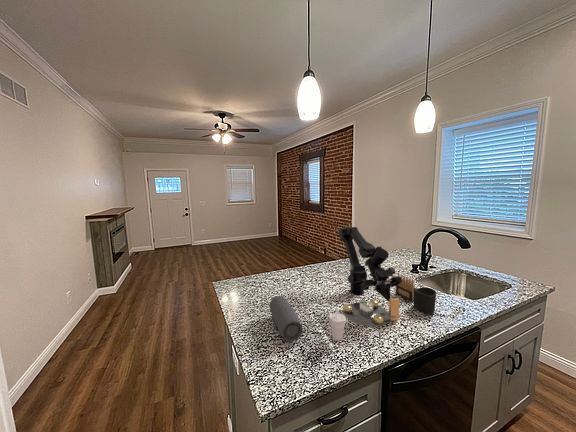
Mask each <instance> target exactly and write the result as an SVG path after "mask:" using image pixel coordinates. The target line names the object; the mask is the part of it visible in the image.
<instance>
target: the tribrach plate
mask: <svg viewBox="0 0 576 432" xmlns="http://www.w3.org/2000/svg"><path fill="white" fill-rule="evenodd" d="M342 314H343V315H344V316H345V317H346V319H348V320H349V321H351V322H353V323H355V324H357V325H360V326H365V327H381V326H382V327H383V326H385V325H386V324H389V323H390V321H389V319H387V320H383V325H376V324H374V322H373V317H374V315H381V316H384V315H389V310H388V311H387V309H385V308H384V307H382V306H379V301H378V300H376V299H370V300H369V301H366V300H363V301H360V302H352V303H349V304H348V303H345V304H343V305H342Z"/></svg>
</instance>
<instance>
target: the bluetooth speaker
mask: <svg viewBox="0 0 576 432" xmlns="http://www.w3.org/2000/svg"><path fill="white" fill-rule="evenodd" d="M269 311H270V314H271V316H272V320H273V322H274V324H275V326H276V328H277V329H278V332H279V333H280V335H281V336H282V338H283V339H284V340H285V341H287V342H294V341H295V342H296V341H297V340H299V339H300V338H301V336H302V334H303V331H304V330H303V329H304V328H303V325H302V322H301V321H300V318H299V317H298V315H297V314H296V312H295V310H294V309H293V307H292V305H291V304H290V303H289V301H288V300H287V299H286V298H285V297H283V296H282V295H275V296H274V297H272V298H271V300H270V302H269Z"/></svg>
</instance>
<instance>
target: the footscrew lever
mask: <svg viewBox="0 0 576 432" xmlns="http://www.w3.org/2000/svg"><path fill="white" fill-rule="evenodd" d="M388 312H389V315H384V316H381V315H374V317H373V322H374V324H376V325H382V326H384V325H383V320H387V319H389V322H394V321H398V320H399V312H400V298H399V297H394V298H391V299H389V303H388Z"/></svg>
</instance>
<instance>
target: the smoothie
mask: <svg viewBox="0 0 576 432" xmlns="http://www.w3.org/2000/svg"><path fill="white" fill-rule="evenodd" d="M329 321H330V330H331V338H332V339H333V340H334V341H336V342H339V341H342V340H343V337H344V333H345V325H346V322H347V318H346V317H345V315H344V313H340V312H338V306H337V305H335V313H334V312H333V313H331V314H330V315H329Z"/></svg>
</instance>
